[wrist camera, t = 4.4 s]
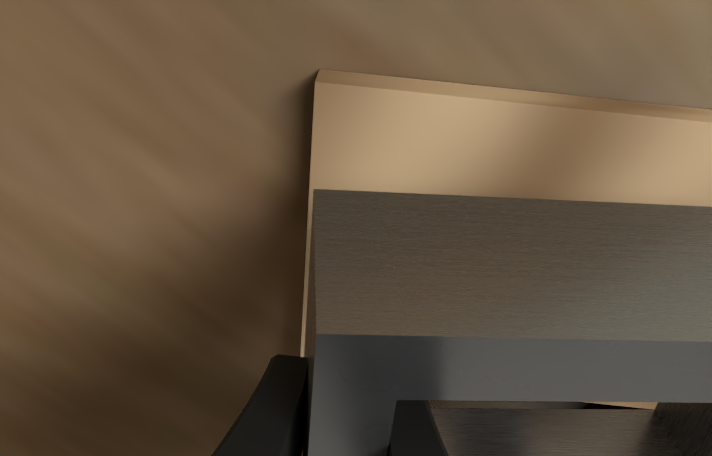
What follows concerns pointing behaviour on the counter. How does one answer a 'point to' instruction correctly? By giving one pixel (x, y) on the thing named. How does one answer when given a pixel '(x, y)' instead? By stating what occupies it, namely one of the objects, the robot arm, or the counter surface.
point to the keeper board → (502, 146)
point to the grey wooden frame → (509, 323)
